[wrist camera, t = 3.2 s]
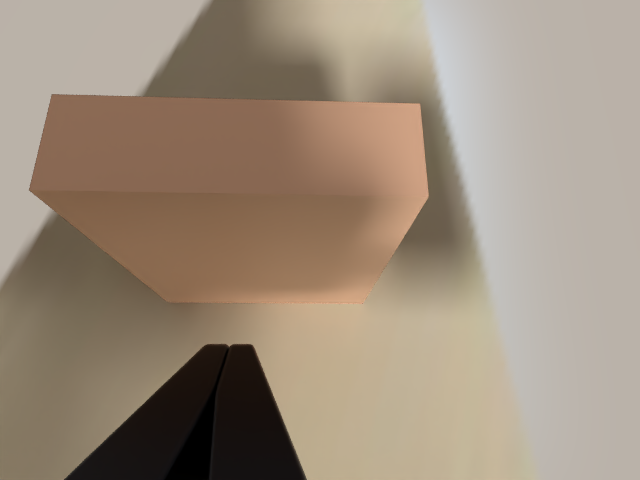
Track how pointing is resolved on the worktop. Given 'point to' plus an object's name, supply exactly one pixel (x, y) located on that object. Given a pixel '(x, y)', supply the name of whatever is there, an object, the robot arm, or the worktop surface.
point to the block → (237, 191)
